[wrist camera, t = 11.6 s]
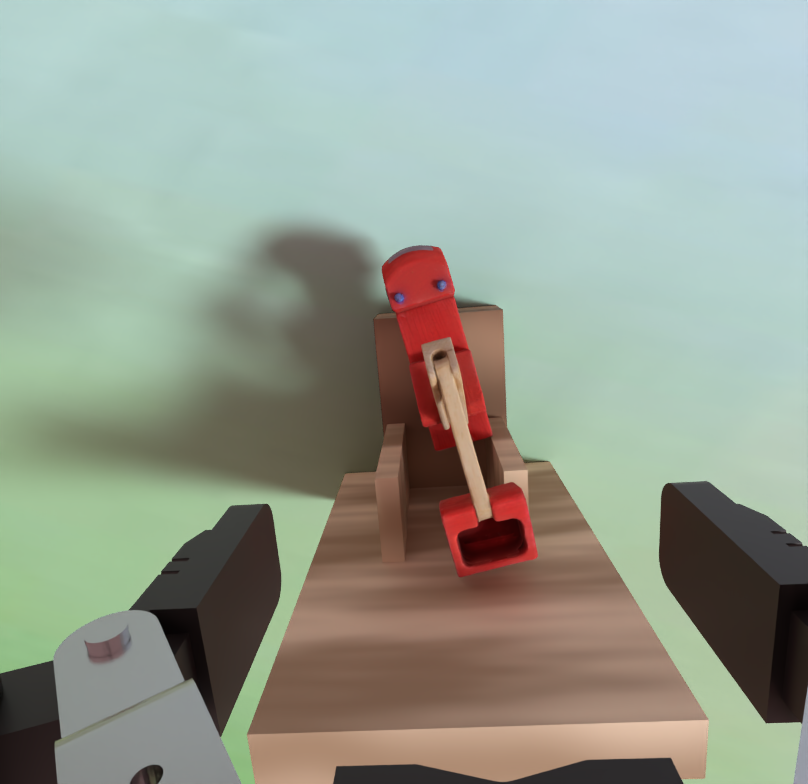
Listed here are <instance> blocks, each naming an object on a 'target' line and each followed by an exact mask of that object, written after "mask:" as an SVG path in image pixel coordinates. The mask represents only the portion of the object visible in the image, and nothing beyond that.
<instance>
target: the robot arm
mask: <svg viewBox="0 0 808 784" xmlns="http://www.w3.org/2000/svg"><path fill="white" fill-rule="evenodd" d="M659 562H660V568H661V572H662V576H663V579H664V581H665V583H666V585H667V587H668V589H669V590H670V592H671V593H672V594H673V596H674V597H675V598H676V600H677V601H678V603H679V604H680V605H681V607H682V608H683V609H684V611H685V612H686V614H687V615H688V616H689V618H690V619H691V620H692V622H693V623H694V625H695V626H696V627H697V629H698V630H699V631H700V633H701V634H702V636H703V637H704V638H705V640H706V641H707V643H708V644H709V645H710V647H711V648H712V649H713V651H714V652H715V654H716V655H717V656H718V658H719V659H720V660H721V662H722V663H723V665H724V666H725V667H726V669H727V670H728V671H729V673H730V674H731V676H732V677H733V678H734V680H735V681H736V682H737V684H738V685H739V687H740V688H741V689H742V691H743V692H744V693H745V695H746V696H747V698H748V699H749V700H750V702H751V703H752V705H753V706H754V707H755V709H756V710H757V711H758V713H759V714H760V716H761V717H762V718H763V720H764V721H765V722H766V723H790V722H801V724H802V729H801V736H800V743H799V750H798V756H797V763H796V770H795V777H794V784H808V547H807V546H802V542H800V541H799V540H798V539H796V538H795V537H794V536H792V535H791V534H790V533H788V534H787V533H786V530H785V529H783V528H782V527H781V526H779V525H778V524H777V523H776V522H774V521H773V520H772V519H770V518H769V517H768V516H766V515H764V514H761V513H759V512H757V511H754V510H752V509H750V508H748V507H745V506H743V505H741V504H736V503H734V502H733V501H732V500H731V499H729V498H728V497H727V496H726V495H724V494H723V493H722V492H721V491H719V490H718V489H717V488H716V487H714V486H713V485H712V484H711V483H709V482H707V481H701V482H682V483H667V484H666V485H665V486H664V488H663V490H662V496H661V518H660V543H659ZM280 591H281V570H280V563H279V556H278V549H277V542H276V535H275V528H274V521H273V515H272V511H271V508H270V506H269V505H268V504H253V505H235V506H230V507H229V508H228V510H227V511H226V512H225V514H224V515H223V516H222V517H221V519H220V520H219V521H218V523H217V524H216V525H215V526H214V528H213V529H212V530H205V531H203V532H202V533H200V534H199V535H197V536H196V537H194V538H193V539H191V540H189V541H188V542H186V543H185V544H184V545H183V546H182V547H181V549H180V550H179V551H178V552H177V553H176V555H175V556H174V557H173V558H172V562H169V563H168V564H167V565H166V567H165V568H164V569H163V570H162V571H161V575H158V576H157V577H156V578H155V580H154V581H153V582H152V583H151V584H150V586H149V587H148V588H147V589H146V590H145V592H144V593H143V594H142V595H141V596H140V598H139V599H138V600H137V601H136V602H135V604H134V605H133V606H132V607H131V608H130V609H129V611H122V612H117V613H113V614H109V615H106V616H103V617H101V618H98V619H96V620H94V621H92V622H90V623H88V624H86V625H84V626H82V627H81V628H79V629H77V630H76V631H75V632H73V633H72V634H71V635H69V636H68V637H67V638H66V639H65V640H64V641H63V642H62V643H61V644H60V646H59V647H58V649H57V650H56V652H55V655H54V660H53V661H49V662H45V663H41V664H37V665H33V666H29V667H25V668H21V669H17V670H13V671H9V672H5V673H1V674H0V784H241V782H240V779H239V777H238V775H237V773H236V771H235V768H234V766H233V764H232V762H231V760H230V758H229V755H228V753H227V751H226V749H225V747H224V744H223V742H222V740H221V738H220V737H221V736H222V733H223V731H224V729H225V726H226V724H227V721H228V719H229V717H230V714H231V712H232V710H233V707H234V705H235V703H236V700H237V698H238V696H239V693H240V691H241V689H242V686H243V684H244V682H245V679H246V677H247V675H248V672H249V670H250V668H251V665H252V663H253V660H254V658H255V656H256V653H257V651H258V649H259V646H260V644H261V642H262V639H263V637H264V635H265V632H266V630H267V628H268V625H269V623H270V621H271V618H272V616H273V614H274V611H275V609H276V607H277V604H278V601H279V597H280ZM333 784H683V782H682V780H681V778H680V775H679V773H678V771H677V769H676V767H675V765H674V763H673V761H672V759H671V758H637V759H597V760H584V761H580V762H577V763H573V764H570V765H566V766H563V767H559V768H556V769H552V770H548V771H545V772H541V773H538V774H534V775H531V776H527V777H524V778H520V779H517V780H513V781H508V782H498V781H492V780H487V779H483V778H478V777H473V776H469V775H464V774H460V773H455V772H450V771H446V770H441V769H436V768H432V767H427V766H423V765H418V764H402V765H363V766H336V770H335V776H334V782H333Z"/></svg>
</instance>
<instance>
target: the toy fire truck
mask: <svg viewBox="0 0 808 784" xmlns="http://www.w3.org/2000/svg"><path fill="white" fill-rule="evenodd" d="M382 274H383V279H384V283H385V287H386V293H387V296H388V299H389V302H390V305H391V308H392V310H393V311H394V312H396V317H397V321H398V324H399V327H400V332H401V335H402V338H403V341H404V345H405V348H406V352H407V355H408V358H409V362H410V365H409V370H410V374H411V379H412V383H413V388H414V392H415V396H416V400H417V405H418V410H419V413H420V417H421V421H422V426H424V427H429V431H430V434H431V438H432V441H433V444H434V449H435V450H436V451H441V450H444V449H448V448H452V447H455V446H457V450H458V453H459V457H460V460H461V464H462V467H463V471H464V474H465V478H466V481H467V484H468V488H469V492H470V493H468V494H465V495H461V496H454V497H452V498H448V499H445V500H441V501H440V503H439V508H440V509H439V510H440V516H441V519H442V523H443V526H444V529H445V534H446V537H447V541H448V544H449V547H450V551H451V555H452V558H453V561H454V564H455V568H456V571H457V575H458V577H464V576H469V575H472V574H475V573H480V572H484V571H488V570H492V569H496V568H500V567H504V566H507V565H511V564H516V563H520V562H524V561H529V560H534V559H536V558H537V557H538V552H537V547H536V543H535V538H534V533H533V527H532V523H531V519H530V515H529V511H528V506H527V502H526V498H525V496H524V493H523V491H522V488H520V487H519V486H518V485H516V484H515V483H514V482H509V483H506V484H501V485H499V486H494V487H491V488H487V489H486V487H485V484H484V480H483V477H482V473H481V470H480V466H479V463H478V460H477V456H476V453H475V449H474V446H473V442H474V441H478V440H481V439H485V438H488V437H491V436H493V433H492V430H491V426H490V423H489V419H488V416H487V412H486V406H485V401H484V397H483V393H482V390H481V386H480V383H479V379H478V376H477V372H476V368H475V365H474V361H473V357H472V353H471V351H470V350H469V348H468V344H467V340H466V337H465V334H464V330H463V327H462V323H461V320H460V316H459V312H458V308H457V305H456V301H455V298H454V296H453V295H454V292H455V289H454V286H453V282H452V279H451V275H450V272H449V268H448V265H447V262H446V260H445V257H444V255H443V253H442V251H441V249H440V248H439V247H433V246H420V245H419V246H412V247H408V248H405V249H402V250H400V251H399V252H397V253H395V254H394V255H393V256H392V257H390V258H389V259H388V260H387V261H386V262H385V263H384V265H383V266H382Z"/></svg>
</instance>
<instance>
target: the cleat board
mask: <svg viewBox="0 0 808 784" xmlns="http://www.w3.org/2000/svg"><path fill="white" fill-rule="evenodd" d="M458 312H459V316H460V320H461V323H462V327H463V330H464V334H465V337H466V340H467V344H468V348H469V350H470V351H471V353H472V357H473V361H474V365H475V368H476V372H477V376H478V379H479V383H480V386H481V390H482V393H483V397H484V401H485V406H486V412H487V416H488V419H489V423H490V426H491V430H492V433H493V436H491V437H488V438H485V439H481V440H478V441H474V442H473V446H474V449H475V453H476V456H477V460H478V463H479V466H480V470H481V473H482V477H483V480H484V484H485V487H486V489H487V488H491V487H494V486H499V485H501V484H506V483H509V482H514V483H515V484H516V485H518V486H519V487H520V488H522V491H523V493H524V496H525V498H526V502H527V506H528V511H529V515H530V519H531V523H532V527H533V533H534V538H535V543H536V547H537V552H538V557H537V558H536V559H534V560H529V561H524V562H520V563H516V564H511V565H507V566H504V567H500V568H496V569H492V570H488V571H484V572H480V573H475V574H472V575H469V576H464V577H458V575H457V571H456V568H455V564H454V561H453V558H452V555H451V551H450V547H449V544H448V541H447V537H446V534H445V529H444V526H443V523H442V519H441V516H440V510H439V509H440V508H439V503H440V501H441V500H445V499H448V498H452V497H454V496H461V495H465V494H468V493H470V492H469V488H468V484H467V481H466V478H465V474H464V471H463V467H462V464H461V460H460V457H459V453H458V450H457V446H455V447H452V448H448V449H444V450H441V451H436V450H435V449H434V444H433V441H432V438H431V434H430V431H429V427H424V426H422V421H421V417H420V413H419V410H418V405H417V400H416V396H415V392H414V388H413V383H412V379H411V374H410V370H409V365H410V362H409V358H408V355H407V352H406V348H405V345H404V341H403V338H402V335H401V332H400V327H399V324H398V321H397V317H396V313H385V314H378V315H377V316H376V317H375V318H374V319H373V320H374V331H375V342H376V353H377V365H378V376H379V387H380V398H381V410H382V421H383V432H384V440H383V444H382V449H381V453H380V457H379V462H378V466H377V470H376V472H361V473H345V475H344V478H343V481H342V483H341V486H340V489H339V491H338V494H337V497H336V499H335V502H334V505H333V507H332V510H331V513H330V515H329V518H328V521H327V523H326V526H325V529H324V531H323V534H322V537H321V539H320V542H319V545H318V547H317V550H316V553H315V555H314V558H313V561H312V563H311V566H310V568H309V571H308V574H307V576H306V579H305V582H304V584H303V587H302V590H301V592H300V595H299V598H298V600H297V603H296V606H295V608H294V611H293V614H292V616H291V619H290V622H289V624H288V627H287V630H286V632H285V635H284V638H283V640H282V643H281V646H280V648H279V651H278V654H277V656H276V659H275V662H274V664H273V667H272V670H271V672H270V675H269V678H268V680H267V683H266V686H265V688H264V691H263V694H262V696H261V699H260V701H259V704H258V707H257V709H256V712H255V715H254V717H253V720H252V723H251V725H250V728H249V731H248V733H247V737H248V743H249V749H250V755H251V760H252V766H253V772H254V778H255V784H333V782H334V776H335V770H336V766H363V765H402V764H418V765H423V766H427V767H432V768H436V769H441V770H446V771H450V772H455V773H460V774H464V775H469V776H473V777H478V778H483V779H487V780H492V781H498V782H508V781H513V780H517V779H520V778H524V777H527V776H531V775H534V774H538V773H541V772H545V771H548V770H552V769H556V768H559V767H563V766H566V765H570V764H573V763H577V762H580V761H584V760H597V759H637V758H671V759H672V761H673V763H674V765H675V767H676V769H677V771H678V773H679V775H680V778H681V779H703V778H705V771H706V755H707V739H708V723H709V720H708V718H707V716H706V715H705V713H704V712H703V710H702V708H701V707H700V705H699V703H698V702H697V700H696V699H695V697H694V695H693V694H692V692H691V690H690V689H689V687H688V686H687V684H686V682H685V681H684V679H683V677H682V676H681V674H680V673H679V671H678V669H677V668H676V666H675V664H674V663H673V661H672V660H671V658H670V656H669V655H668V653H667V651H666V650H665V648H664V647H663V645H662V643H661V642H660V640H659V638H658V637H657V635H656V634H655V632H654V630H653V629H652V627H651V625H650V624H649V622H648V621H647V619H646V617H645V616H644V614H643V612H642V611H641V609H640V608H639V606H638V604H637V603H636V601H635V599H634V598H633V596H632V595H631V593H630V591H629V590H628V588H627V586H626V585H625V583H624V582H623V580H622V578H621V577H620V575H619V573H618V572H617V570H616V569H615V567H614V565H613V564H612V562H611V560H610V559H609V557H608V556H607V554H606V552H605V551H604V549H603V547H602V546H601V544H600V543H599V541H598V539H597V538H596V536H595V534H594V533H593V531H592V530H591V528H590V526H589V525H588V523H587V521H586V520H585V518H584V517H583V515H582V513H581V512H580V510H579V508H578V507H577V505H576V504H575V502H574V500H573V499H572V497H571V495H570V494H569V492H568V491H567V489H566V487H565V486H564V484H563V482H562V481H561V479H560V478H559V476H558V474H557V473H556V471H555V469H554V468H553V466H552V465H551V463H550V462H534V463H524V461H523V459H522V457H521V455H520V453H519V451H518V449H517V447H516V445H515V443H514V441H513V439H512V437H511V435H510V433H509V431H508V429H507V419H506V390H505V361H504V332H503V310H502V309H501V308H499V307H498V306H496V305H493V306H480V307H466V308H458Z"/></svg>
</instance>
